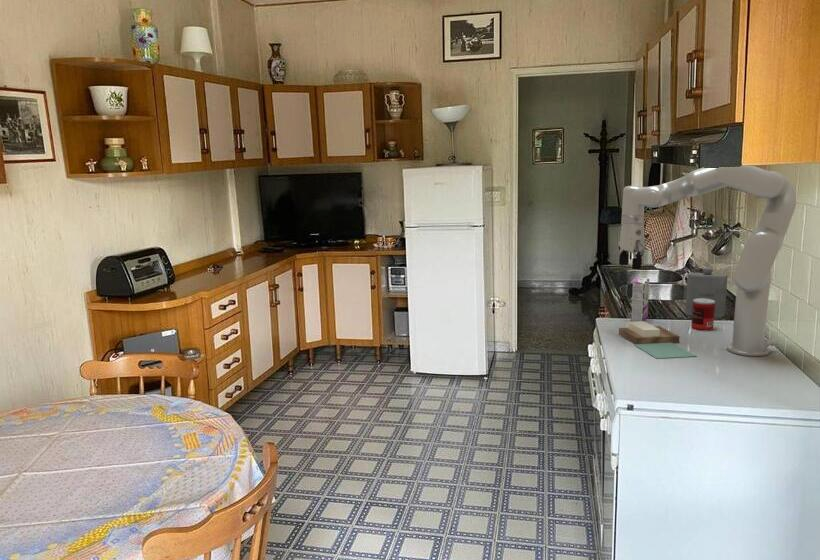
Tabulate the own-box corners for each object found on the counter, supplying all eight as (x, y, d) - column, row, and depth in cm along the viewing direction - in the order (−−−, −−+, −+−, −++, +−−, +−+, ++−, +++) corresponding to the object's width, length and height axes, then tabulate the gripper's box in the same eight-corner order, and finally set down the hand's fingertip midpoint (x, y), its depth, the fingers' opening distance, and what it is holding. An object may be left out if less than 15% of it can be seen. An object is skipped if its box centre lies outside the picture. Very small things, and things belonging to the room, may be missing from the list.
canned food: (713, 327, 245) (715, 299, 243) (712, 331, 238) (714, 303, 236) (692, 324, 249) (693, 297, 247) (690, 329, 242) (692, 301, 240)
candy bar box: (635, 316, 264) (637, 277, 261) (648, 317, 262) (650, 278, 259) (630, 321, 255) (632, 281, 252) (643, 323, 252) (645, 282, 249)
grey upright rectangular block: (685, 316, 262) (688, 268, 259) (684, 313, 268) (687, 266, 264) (725, 318, 257) (729, 270, 254) (723, 315, 263) (727, 268, 259)
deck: (659, 332, 238) (659, 326, 238) (679, 342, 225) (679, 336, 224) (618, 334, 237) (619, 328, 236) (636, 345, 223) (636, 338, 222)
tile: (643, 327, 236) (643, 321, 236) (659, 336, 224) (660, 329, 224) (628, 328, 236) (628, 321, 235) (643, 337, 224) (643, 330, 223)
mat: (671, 343, 224) (671, 342, 224) (696, 356, 209) (696, 355, 209) (633, 345, 223) (633, 344, 223) (656, 358, 207) (656, 358, 207)
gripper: (654, 222, 222) (651, 270, 225) (630, 217, 238) (627, 262, 242) (634, 222, 220) (631, 271, 224) (611, 218, 237) (609, 263, 241)
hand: (629, 266), depth 233 cm, fingers open, 9 cm apart
